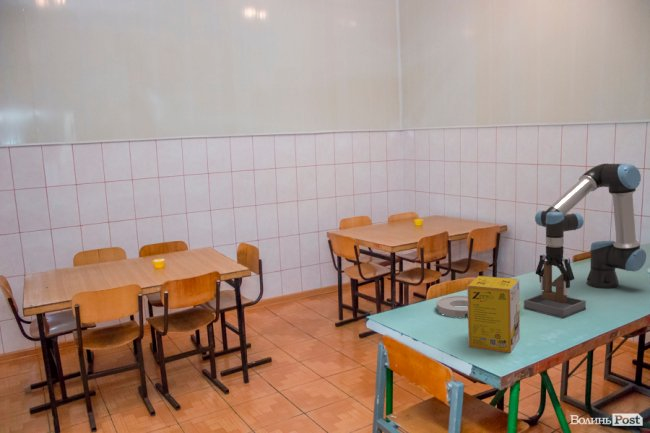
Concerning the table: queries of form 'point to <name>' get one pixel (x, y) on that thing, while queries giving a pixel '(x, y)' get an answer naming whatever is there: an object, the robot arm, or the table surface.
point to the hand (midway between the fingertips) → (554, 292)
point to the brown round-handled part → (557, 283)
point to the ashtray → (453, 306)
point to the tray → (555, 306)
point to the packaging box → (493, 313)
